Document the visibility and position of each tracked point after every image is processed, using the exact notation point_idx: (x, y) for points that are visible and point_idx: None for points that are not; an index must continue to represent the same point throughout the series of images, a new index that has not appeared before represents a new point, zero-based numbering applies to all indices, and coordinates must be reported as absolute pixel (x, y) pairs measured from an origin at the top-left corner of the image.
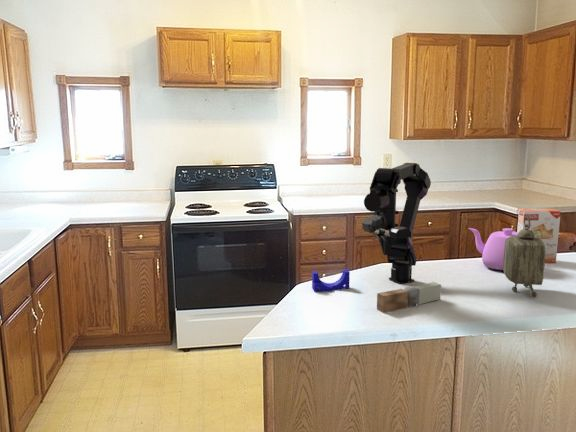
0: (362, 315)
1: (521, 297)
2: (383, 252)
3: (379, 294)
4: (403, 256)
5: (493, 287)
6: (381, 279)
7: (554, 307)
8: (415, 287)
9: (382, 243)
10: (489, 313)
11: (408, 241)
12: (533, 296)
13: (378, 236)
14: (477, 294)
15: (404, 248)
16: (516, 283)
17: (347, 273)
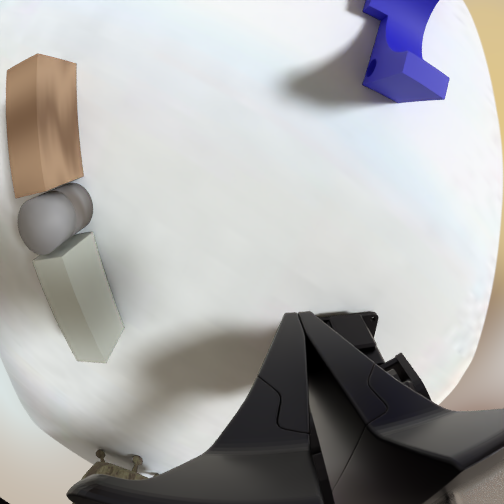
0: (63, 5)
1: (102, 441)
2: (306, 320)
3: (26, 59)
4: (312, 418)
5: (170, 453)
6: (392, 288)
7: (54, 430)
8: (50, 260)
9: (339, 390)
10: (14, 343)
11: (328, 500)
12: (98, 450)
13: (421, 448)
14: (129, 414)
15: (315, 459)
16: (100, 462)
17: (400, 63)
